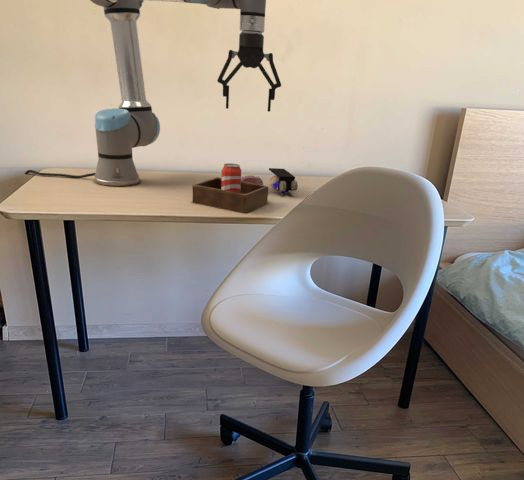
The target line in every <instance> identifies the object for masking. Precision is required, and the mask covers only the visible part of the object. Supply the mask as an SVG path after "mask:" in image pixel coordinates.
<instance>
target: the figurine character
mask: <svg viewBox="0 0 524 480" xmlns="http://www.w3.org/2000/svg"><path fill="white" fill-rule="evenodd" d="M268 171H270V172H271V174H274V175H273V176H272V177H271V178H270V179H269V180H270V181H269V185H270V187H272V189H274V190H276V191H279V194H280V195H281V196H282V197H284V196H285V194H287V195H288V196H289V197H292V193H290V192H295V191H298V188H299V187H298V186H299V183H298V181H297V180H296V176H295V175H293V174H292V173H290V172H289V171H288V170H286V169H285V168H277V167H275V168H274V167H273V168H272V167H269V168H268Z"/></svg>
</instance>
